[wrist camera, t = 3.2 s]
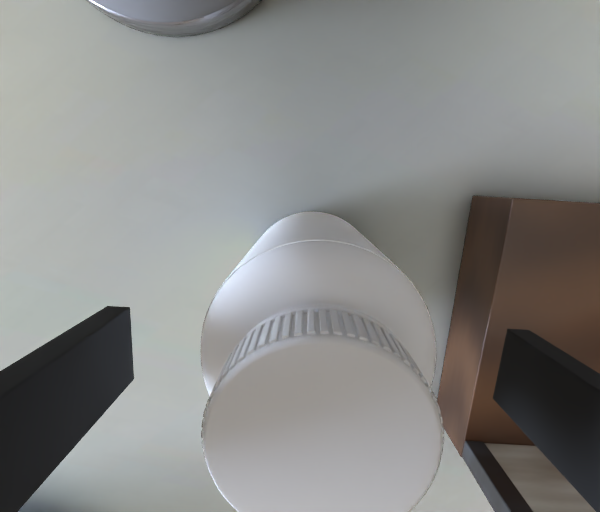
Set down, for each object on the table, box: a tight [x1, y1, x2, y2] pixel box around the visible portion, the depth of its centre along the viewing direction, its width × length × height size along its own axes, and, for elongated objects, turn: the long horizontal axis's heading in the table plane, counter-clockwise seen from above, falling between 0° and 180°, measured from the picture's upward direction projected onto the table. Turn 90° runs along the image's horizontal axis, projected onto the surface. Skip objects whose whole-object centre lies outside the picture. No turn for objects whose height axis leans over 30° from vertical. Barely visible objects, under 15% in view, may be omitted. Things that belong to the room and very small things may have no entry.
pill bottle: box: [201, 211, 444, 512], centre depth 14 cm, size 8×8×15 cm
